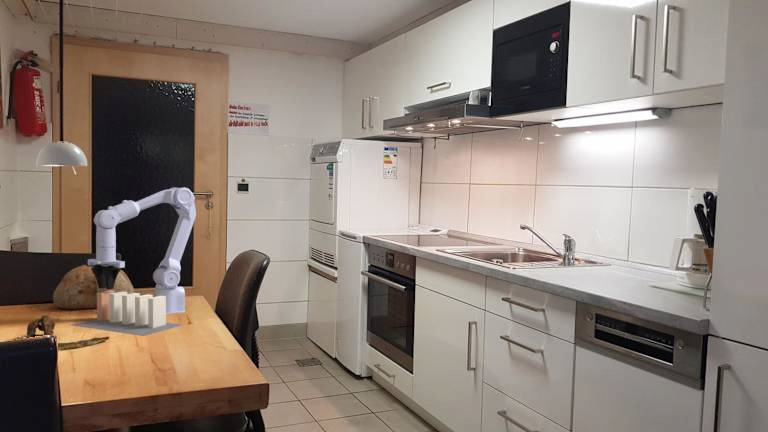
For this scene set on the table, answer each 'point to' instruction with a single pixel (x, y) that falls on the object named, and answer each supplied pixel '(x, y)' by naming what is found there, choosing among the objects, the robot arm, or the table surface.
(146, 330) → the mat
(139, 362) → the table surface
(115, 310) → the domino
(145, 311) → the domino
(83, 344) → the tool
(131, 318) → the domino
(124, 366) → the table surface
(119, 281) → the bread
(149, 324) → the domino
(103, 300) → the domino
